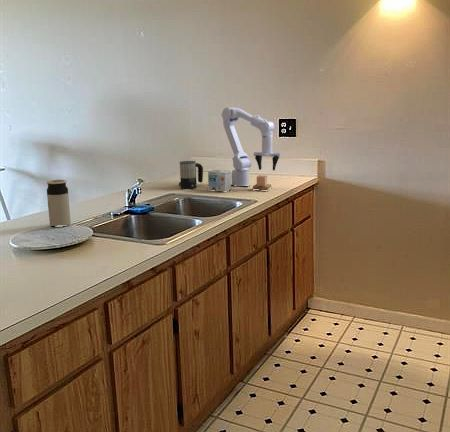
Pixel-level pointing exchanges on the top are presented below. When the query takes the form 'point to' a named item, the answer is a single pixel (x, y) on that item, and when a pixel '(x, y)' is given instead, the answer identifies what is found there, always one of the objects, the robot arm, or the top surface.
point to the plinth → (262, 187)
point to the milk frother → (190, 174)
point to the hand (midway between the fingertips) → (267, 169)
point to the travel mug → (58, 203)
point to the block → (261, 180)
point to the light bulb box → (219, 180)
